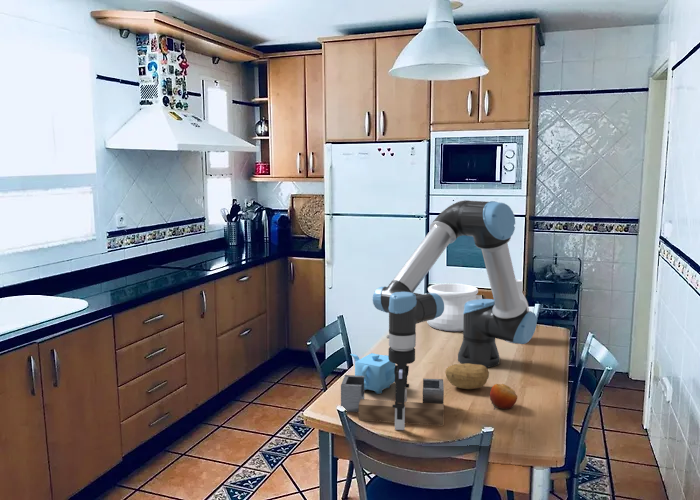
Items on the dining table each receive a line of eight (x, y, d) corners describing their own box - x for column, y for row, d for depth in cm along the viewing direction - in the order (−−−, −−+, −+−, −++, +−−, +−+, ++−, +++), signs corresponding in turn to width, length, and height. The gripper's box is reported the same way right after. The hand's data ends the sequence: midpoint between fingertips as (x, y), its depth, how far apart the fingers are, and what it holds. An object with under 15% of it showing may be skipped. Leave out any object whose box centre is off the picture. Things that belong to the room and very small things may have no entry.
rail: (443, 420, 171) (443, 404, 170) (443, 426, 167) (443, 409, 166) (360, 415, 175) (360, 398, 174) (358, 420, 171) (358, 404, 170)
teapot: (386, 401, 184) (387, 366, 183) (338, 389, 194) (337, 356, 192) (409, 385, 198) (409, 352, 196) (363, 375, 207) (363, 343, 205)
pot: (422, 331, 261) (422, 292, 258) (424, 317, 285) (424, 281, 282) (482, 334, 256) (484, 294, 254) (480, 320, 280) (481, 283, 278)
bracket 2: (442, 404, 181) (443, 379, 180) (443, 416, 173) (443, 390, 172) (422, 403, 182) (423, 378, 181) (422, 415, 173) (422, 389, 172)
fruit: (480, 397, 183) (493, 376, 182) (501, 409, 184) (514, 388, 183) (488, 408, 175) (502, 385, 174) (510, 420, 176) (524, 398, 175)
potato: (444, 381, 201) (445, 358, 199) (487, 384, 198) (488, 361, 197) (444, 392, 191) (445, 368, 190) (489, 395, 189) (490, 371, 188)
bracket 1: (340, 411, 177) (340, 385, 175) (345, 399, 185) (345, 374, 184) (361, 412, 176) (361, 386, 175) (364, 400, 185) (364, 375, 184)
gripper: (391, 334, 180) (390, 401, 183) (385, 360, 156) (384, 437, 159) (416, 335, 179) (415, 402, 182) (414, 362, 155) (412, 439, 158)
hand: (400, 419), depth 171 cm, fingers open, 13 cm apart
